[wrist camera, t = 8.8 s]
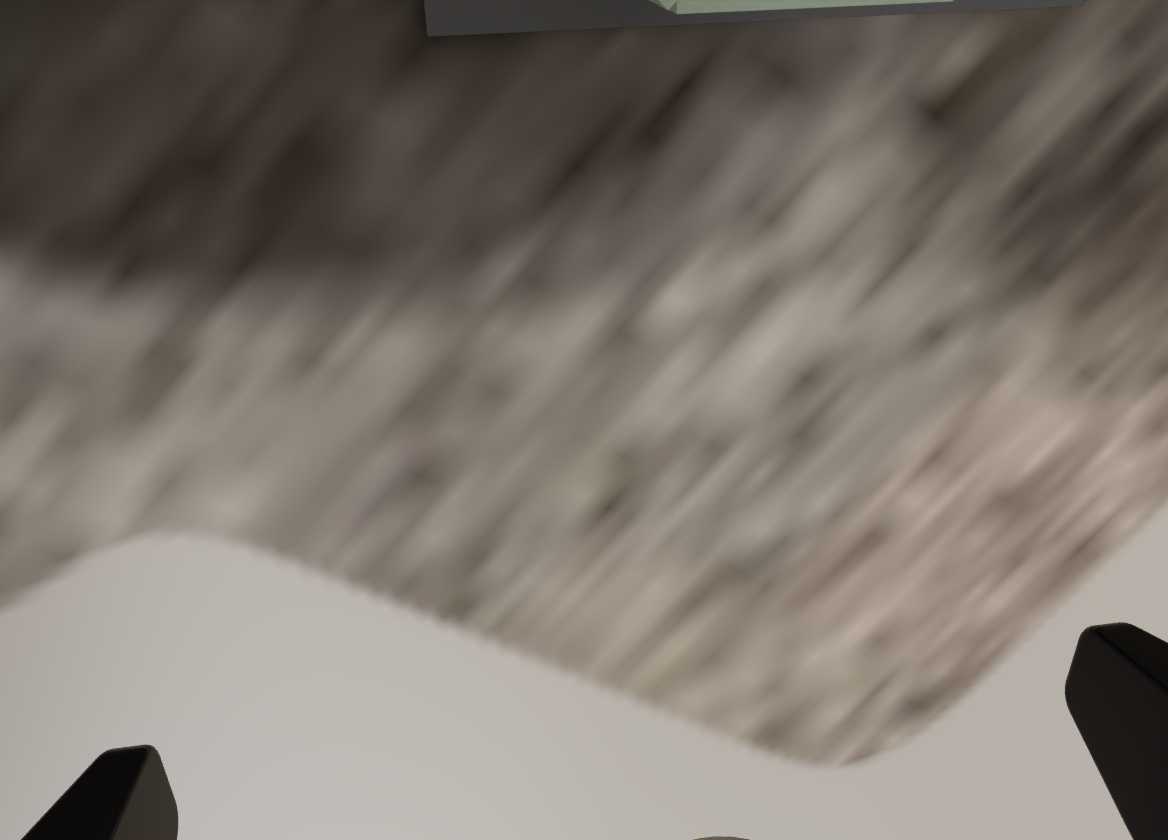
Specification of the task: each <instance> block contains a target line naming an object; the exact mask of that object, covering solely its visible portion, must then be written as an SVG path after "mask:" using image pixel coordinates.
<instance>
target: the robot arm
mask: <svg viewBox="0 0 1168 840" xmlns="http://www.w3.org/2000/svg"><path fill="white" fill-rule="evenodd" d="M1065 697H1066V702H1067V706H1068V709H1069V711H1070V713H1071V715H1072V717H1073V719H1074V721H1075V723H1076V725H1077V728H1078V730H1079V732H1080V733H1081V736H1082V738H1083V740H1084V742H1085V744H1086V746H1087V748H1088V750H1089V752H1090V754H1091V756H1092V758H1093V760H1094V762H1095V764H1096V766H1097V768H1098V770H1099V772H1100V774H1101V776H1102V778H1103V780H1104V782H1105V784H1106V786H1107V788H1108V790H1109V792H1110V794H1111V796H1112V798H1113V800H1114V802H1115V804H1116V807H1117V809H1118V811H1119V813H1120V815H1121V817H1122V818H1123V820H1124V823H1125V825H1126V826H1127V828H1128V830H1129V832H1130V834H1131V836H1132V838H1133V840H1168V643H1167V642H1165V641H1163V640H1161V639H1159V638H1157V637H1155V636H1154V635H1152V634H1150V633H1148V632H1146V631H1144V630H1142V629H1140V628H1138V627H1136V626H1134V625H1132V624H1128V623H1121V622H1119V623H1111V624H1103V625H1095V626H1090V627H1088V628H1086V629H1085V630H1084V631H1083V632H1082V633H1081V635H1080V637H1079V640H1078V644H1077V647H1076V651H1075V653H1074V657H1073V660H1072V663H1071V666H1070V670H1069V673H1068V676H1067V680H1066V684H1065ZM177 834H178V811H177V805H176V802H175V798H174V796H173V793H172V790H171V787H170V784H169V781H168V778H167V775H166V773H165V769H164V767H163V764H162V761H161V758H160V755H159V753H158V751H157V750H156V749H155V748H154V747H153V746H151V745H139V746H131V747H123V748H116V749H110V750H107V751H105V752H104V753H102V754H101V755H100V756H99V757H98V758H97V759H96V760H95V761H94V762H93V763H92V764H91V765H90V766H89V767H88V768H87V769H86V770H85V771H84V772H83V774H82V775H81V776H80V777H79V778H78V779H77V780H76V781H75V782H74V783H73V784H72V785H71V786H70V788H69V789H68V790H67V791H66V792H65V793H64V794H63V795H62V796H61V797H60V798H59V799H58V800H57V801H56V803H55V804H54V805H53V806H52V807H51V808H50V809H49V810H48V811H47V812H46V813H45V814H44V815H43V816H42V818H41V819H40V820H39V821H38V822H37V823H36V824H35V825H34V826H33V827H32V828H31V829H30V830H29V831H28V833H27V834H26V835H25V836H24V837H23V838H22V839H21V840H177Z"/></svg>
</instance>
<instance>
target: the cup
mask: <svg viewBox="0 0 1168 840" xmlns="http://www.w3.org/2000/svg"><path fill="white" fill-rule="evenodd" d="M695 840H748V839H742V838H736V837H708V838H700V839H695Z"/></svg>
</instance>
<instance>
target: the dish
mask: <svg viewBox="0 0 1168 840" xmlns="http://www.w3.org/2000/svg"><path fill="white" fill-rule="evenodd" d="M649 1H651V2H653V3H655V4H657V5H659V6H661V7H662V8H664V9H666V10H670V11H672V12H674V13H676V14H690V13H712V12H734V11H755V10H777V9H799V8H821V7H842V6H864V5H886V4H908V3H929V2H951V1H953V0H649Z"/></svg>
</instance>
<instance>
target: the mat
mask: <svg viewBox="0 0 1168 840" xmlns="http://www.w3.org/2000/svg"><path fill="white" fill-rule="evenodd" d="M1083 4H1084V0H953V1H951V2H929V3H908V4H886V5H864V6H842V7H821V8H799V9H777V10H755V11H734V12H712V13H690V14H676V13H674V12H672V11H670V10H666V9H664V8H662V7H661V6H659V5H657V4H655V3H653V2H651V1H649V0H424V8H425V18H426V28H427V37H432V36H453V35H474V34H496V33H517V32H538V31H559V30H580V29H601V28H622V27H643V26H665V25H686V24H707V23H728V22H749V21H770V20H791V19H813V18H834V17H855V16H876V15H897V14H918V13H939V12H960V11H982V10H1003V9H1024V8H1045V7H1066V6H1083Z"/></svg>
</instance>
